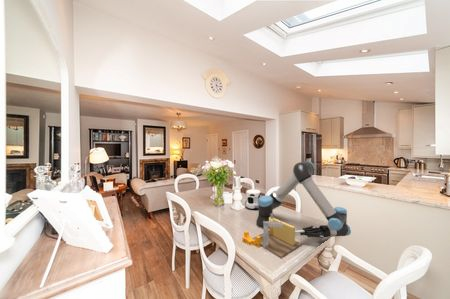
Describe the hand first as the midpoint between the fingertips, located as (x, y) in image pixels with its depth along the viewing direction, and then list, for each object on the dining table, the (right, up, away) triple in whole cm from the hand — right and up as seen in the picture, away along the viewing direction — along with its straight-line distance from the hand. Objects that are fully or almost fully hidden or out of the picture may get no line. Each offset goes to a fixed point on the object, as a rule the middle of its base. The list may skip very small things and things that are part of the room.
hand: (295, 233), depth 120 cm
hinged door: (-8, -6, +5) cm, 11 cm away
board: (-13, -8, +2) cm, 15 cm away
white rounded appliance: (-17, -5, +68) cm, 71 cm away
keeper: (-16, -8, -4) cm, 18 cm away
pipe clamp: (-30, -8, +1) cm, 31 cm away
